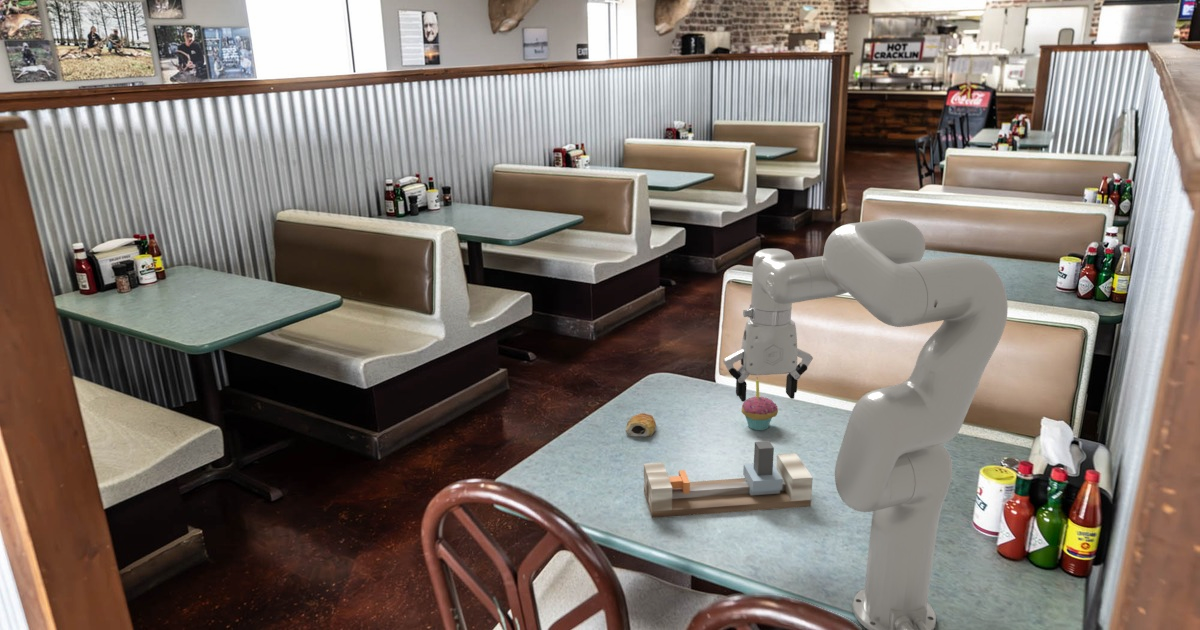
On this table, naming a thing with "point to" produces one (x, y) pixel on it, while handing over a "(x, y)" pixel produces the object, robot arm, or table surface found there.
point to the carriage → (763, 471)
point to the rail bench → (726, 502)
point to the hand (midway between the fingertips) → (765, 397)
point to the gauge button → (680, 482)
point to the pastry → (641, 425)
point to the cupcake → (759, 410)
